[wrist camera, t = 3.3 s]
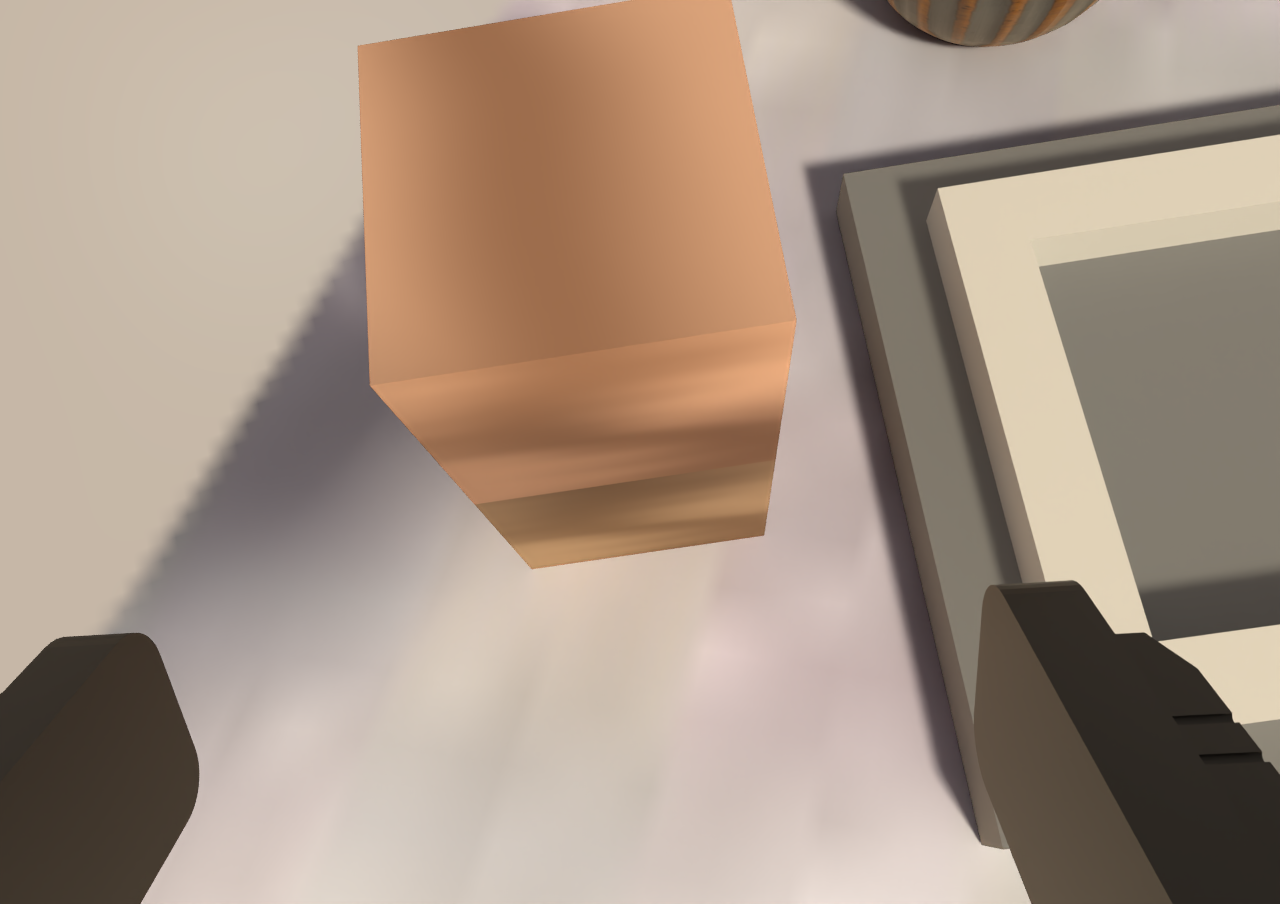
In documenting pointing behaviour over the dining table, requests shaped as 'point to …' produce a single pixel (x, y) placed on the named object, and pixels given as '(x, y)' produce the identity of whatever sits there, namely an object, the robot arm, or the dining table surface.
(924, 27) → the vase
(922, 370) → the pocket board
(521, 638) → the dining table surface
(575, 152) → the copper rectangular block
